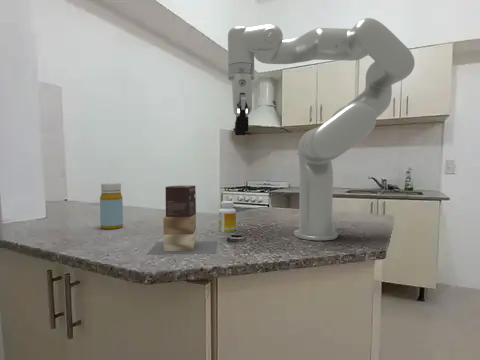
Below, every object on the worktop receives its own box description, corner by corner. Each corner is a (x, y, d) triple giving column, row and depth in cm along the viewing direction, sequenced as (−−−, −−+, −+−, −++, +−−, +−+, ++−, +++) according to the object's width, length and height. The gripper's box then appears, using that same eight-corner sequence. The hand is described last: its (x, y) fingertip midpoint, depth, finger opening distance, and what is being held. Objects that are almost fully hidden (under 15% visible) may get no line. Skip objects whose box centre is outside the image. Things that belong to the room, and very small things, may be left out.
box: (189, 217, 76) (188, 186, 76) (165, 217, 77) (164, 186, 77) (196, 213, 82) (196, 185, 82) (173, 213, 83) (173, 185, 83)
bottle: (101, 226, 111) (101, 183, 110) (123, 225, 113) (122, 182, 112) (99, 230, 104) (98, 184, 103) (122, 229, 106) (121, 183, 105)
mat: (217, 243, 86) (217, 241, 86) (216, 255, 74) (216, 253, 74) (157, 244, 86) (157, 241, 86) (146, 256, 74) (146, 254, 74)
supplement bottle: (239, 231, 102) (239, 201, 101) (230, 235, 97) (230, 203, 96) (225, 230, 104) (224, 200, 104) (215, 233, 100) (215, 202, 99)
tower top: (195, 228, 83) (195, 213, 83) (193, 234, 76) (193, 217, 76) (168, 228, 83) (168, 213, 83) (163, 234, 76) (163, 217, 76)
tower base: (195, 243, 84) (195, 228, 83) (193, 250, 77) (193, 234, 76) (168, 244, 83) (168, 228, 83) (163, 251, 76) (163, 234, 76)
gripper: (257, 64, 83) (257, 130, 84) (251, 81, 100) (251, 136, 101) (228, 63, 83) (229, 130, 84) (227, 81, 100) (227, 136, 101)
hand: (241, 133), depth 92 cm, fingers open, 9 cm apart
